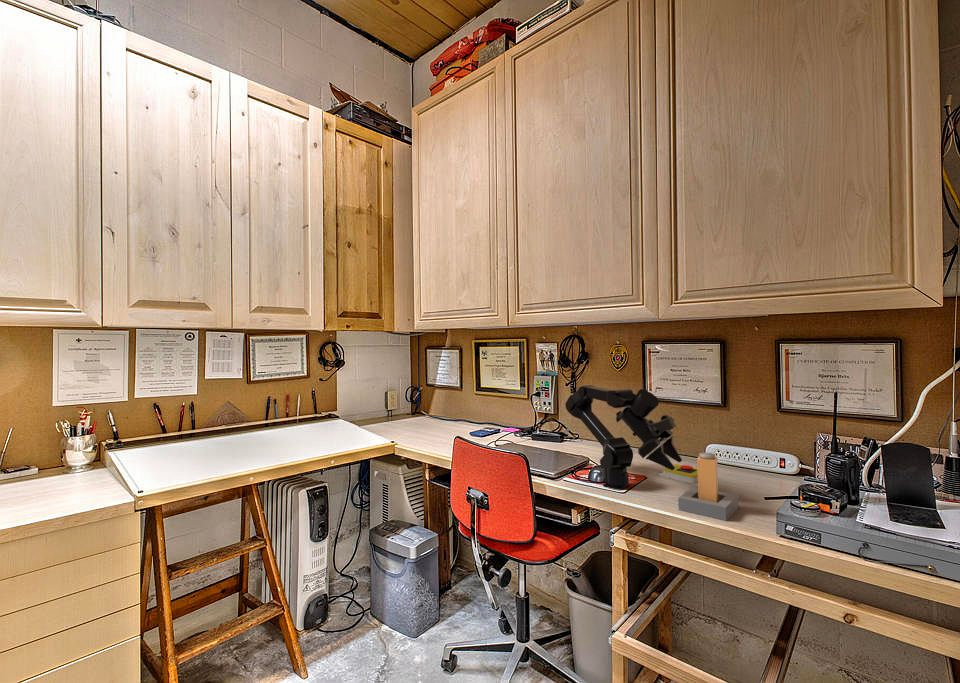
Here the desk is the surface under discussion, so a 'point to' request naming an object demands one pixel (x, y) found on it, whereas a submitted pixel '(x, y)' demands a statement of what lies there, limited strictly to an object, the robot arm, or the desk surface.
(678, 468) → the emergency button
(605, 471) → the robot arm
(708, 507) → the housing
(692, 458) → the desk surface
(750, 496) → the desk surface
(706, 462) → the orange bar
